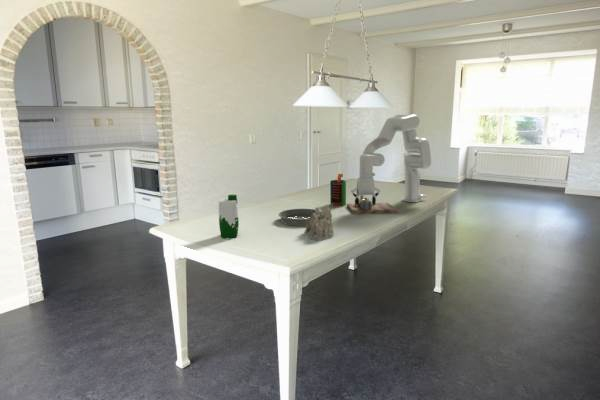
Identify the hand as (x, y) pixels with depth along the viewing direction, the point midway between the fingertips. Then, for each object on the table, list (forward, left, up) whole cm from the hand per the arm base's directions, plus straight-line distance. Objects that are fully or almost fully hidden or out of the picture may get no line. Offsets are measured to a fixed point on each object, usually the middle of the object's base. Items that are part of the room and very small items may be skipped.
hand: (365, 204), depth 244 cm
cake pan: (+40, +16, -5) cm, 43 cm away
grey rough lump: (+35, +45, -5) cm, 57 cm away
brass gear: (0, -9, -3) cm, 9 cm away
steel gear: (0, 0, -3) cm, 3 cm away
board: (-5, -5, -5) cm, 9 cm away
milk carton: (+77, +41, -5) cm, 87 cm away
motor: (+12, -23, -5) cm, 26 cm away
